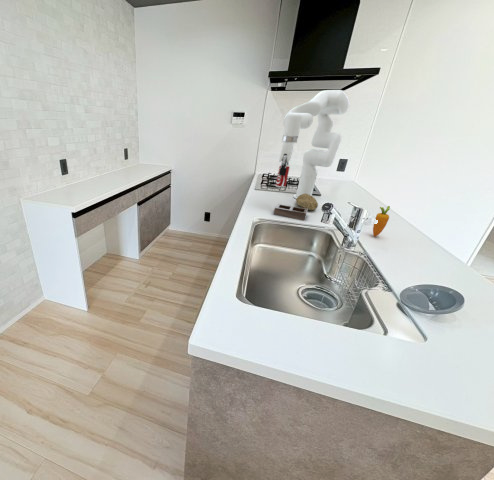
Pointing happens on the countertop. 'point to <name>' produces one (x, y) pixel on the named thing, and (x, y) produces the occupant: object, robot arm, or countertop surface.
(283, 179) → the soda can
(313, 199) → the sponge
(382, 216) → the carrot
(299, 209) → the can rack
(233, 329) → the countertop surface
